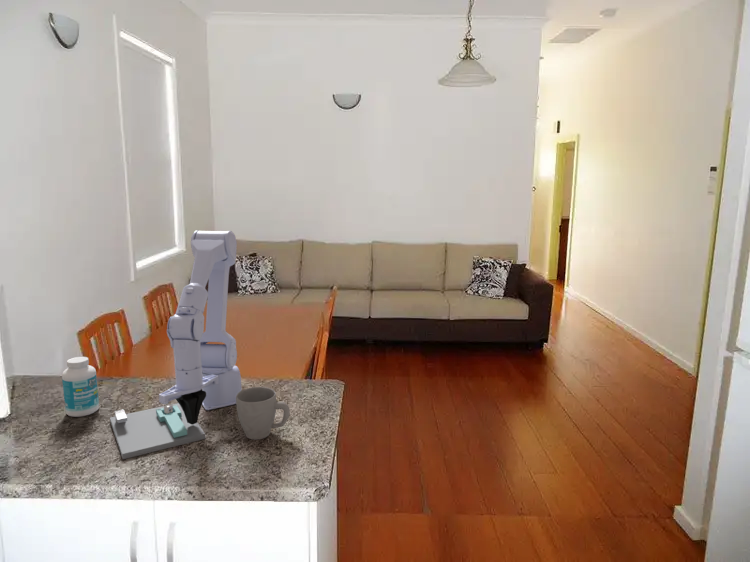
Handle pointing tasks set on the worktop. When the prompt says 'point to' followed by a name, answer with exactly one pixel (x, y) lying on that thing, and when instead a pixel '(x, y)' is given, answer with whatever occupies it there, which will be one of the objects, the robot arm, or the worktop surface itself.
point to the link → (173, 421)
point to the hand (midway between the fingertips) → (192, 422)
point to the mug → (259, 411)
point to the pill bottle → (80, 387)
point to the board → (150, 433)
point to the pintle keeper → (122, 418)
